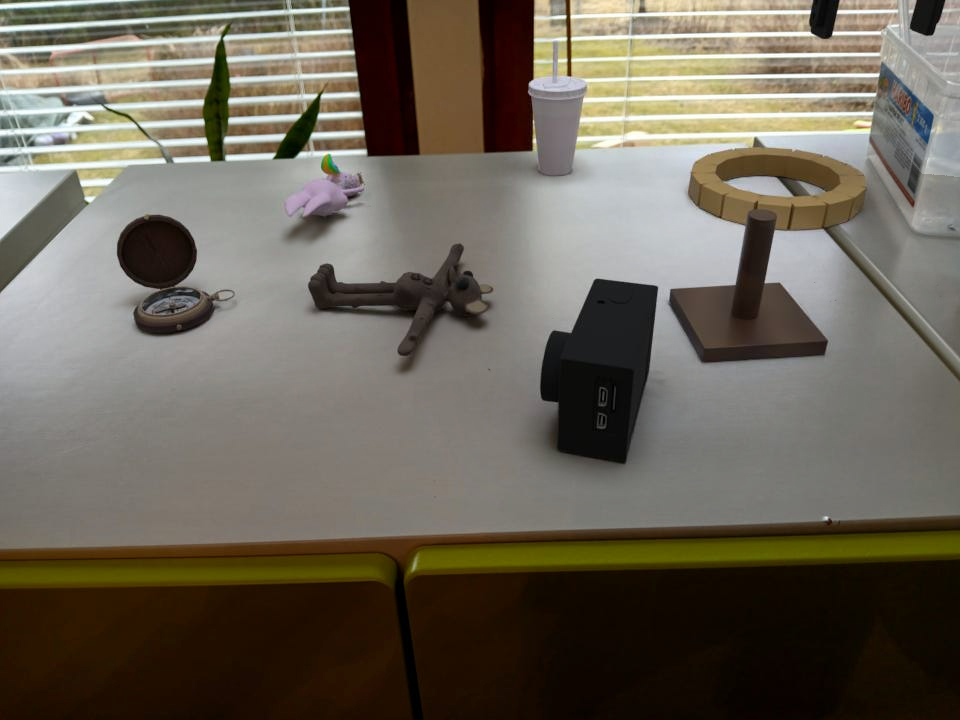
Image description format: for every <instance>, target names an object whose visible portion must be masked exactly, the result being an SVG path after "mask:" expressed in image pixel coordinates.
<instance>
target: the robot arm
mask: <svg viewBox="0 0 960 720" xmlns="http://www.w3.org/2000/svg"><path fill="white" fill-rule="evenodd" d="M840 1H841V0H812V4H811V8H810V14H809V19H808V26H809V27H810V34H811V35H813V36H816V37H818V38H819V39H821V40H829V39H831V38H832V37H833V33H834V29H835V24H836V20H837V15H838V11H839V6H840V3H841V2H840ZM945 4H946V0H915V4H914V8H913V12H912V14H911V15H912V16H911V20H910V22H909V29H910V30H911V31H912V32H915V33H917V34H920V35H922V36H926V37H933V36H934V34H935V32H936V29H937V25H938V24H939V22H940V21H941V18H942V14H943V11H944V8H945Z"/></svg>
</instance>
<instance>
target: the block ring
mask: <svg viewBox="0 0 960 720" xmlns="http://www.w3.org/2000/svg"><path fill="white" fill-rule="evenodd" d="M692 164H693V165H692V167H691V171H690V177H689V183H688V185H689V186H688V196H689V197H690V199H691V200H692V202H693V203H694V204H695V205H696V206H697V207H698V208H699V209H701V210H703V211H705V212H708V213H709V214H711V215H713V216H715V217H717V218H721V220H726V221H729V222H732V223H733V222H734V223H736V224H741V225H746V219H747V213H748V212H749V211H750V210H754V209H765V210H770V211H773V212H774V213H776V214H777V220H776V226H775V230H783V231H786V230H788V229H789V230H790V231H798V230H799V231H800V230H801V231H802V230H815V229H816V230H817V229H822V228H823V229H825V228H829V227H834V226H837V225H841V224H842V223H847V222H848V221H850V220H852V219H853V218H854V217H855V216H857V214H859V213H860V212H861V210H862V207H863V203H864V200H865V195H866V193H867V192H866V191H867V188H868V187H867V181H866V176H864V174H863V173H862V172H860V171H859V170H857V169H856V168H855V167H854V166H852V165H851V164H848V163H846V162H843V161H841V160H838V159H836V158H834V157H833V158H832V157H830V156H828V155H823V154H821V153H816V152H812V151H811V152H810V151H806V150H801V149H794V150H793V149H792V148H783V147H782V148H780V147H768V146H764V147H762V146H753V147H735V148H734V149H733V148H729V149H725V150H719V151H715V152H710V153H708V154H706V155H704V156H702V157H701V158H699V159H697V160H695V161H694V162H693V163H692ZM754 176H767V177H779V178H780V177H782V178H788V179H793V180H796V179H798V180H797V181H801V182H806V183H809V182H810V183H809V184H811V185H814V186H817V187H820V188H821V189H824V190H825V192H822V193H821V192H820V193H818V194H814V195H799V196H782V195H771V194H761V193H757V192H753V191H750V190H745V189H741V188H737V187H735V186H734V185H731V184H728V183H727V182H724V181H726V180H727V181H728V180H732V179H735V178H740V177H754Z"/></svg>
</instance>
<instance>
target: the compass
mask: <svg viewBox="0 0 960 720" xmlns="http://www.w3.org/2000/svg"><path fill="white" fill-rule="evenodd" d="M116 257H117V260H118V263H119V267H120V268H121V270H122V271H123V273H124V274H125V275H126V276H127V277H128V278H129V279H130V280H131V281H133V283H136V284H138V285H140V286H142V287H144V288H148V289H154V290H155V289H156V290H157V291H154V292H152V293H150V294H148V295H147V296H146V297H145V298H143V299H142V300H141V302H139V303H138V304H137V306H135V308H134V310H133V313H132V314H133V319H134V322H135V325H136V326H137V327H138V328H140V329H142V330H144V331H147V332H150V333H157V334H163V333H164V334H166V333H168V334H169V333H175V332H180V331H184V330H187V329H190V328H193V327H195V326H197V325H199V324H201V323H203V321H205V320H206V319H207V318H208V317H209V316H210V315H212V312H213V311H214V307H215V306H214V302H215V301H216V302H225V301H228V300H229V301H230V300H231V299H233V298H234V297H235V296H236V292H235V291H234V290H233V289H221V290H217V291H215V292H214V293H212V294H209V293H208V292H206V291H203V290H200V289H197V288H195V287H192V286H178V285H179V284H180V283H182V282H183V281H185V280H186V279H188V277H189V276H190V275H191V273H192V272H193V271H194V268H195V266H196V264H197V259H198V258H197V257H198V248H197V244H196V240H195V238H194V237H193V235H192V233H191V232H190V230H189V229H188V228H187V227H186V226H185V225H184V224H183V223H182V222H181V221H179V220H177V219H175V218H172V217H171V216H167V215H163V214H149V213H146V214H144V215H143V216H141V217H138V218H135V219H134V220H132V221H131V222H129V223H128V224H127V225H126V226H125V227H124V228H123V230H122V231H121V232H120V233H119V237H118V239H117V242H116ZM222 292H223V293H224V292H230V293H232V294H231V295H230V296H229V297H227V298H220V295H219V294H220V293H222Z"/></svg>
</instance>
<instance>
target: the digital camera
mask: <svg viewBox="0 0 960 720" xmlns="http://www.w3.org/2000/svg"><path fill="white" fill-rule="evenodd" d="M658 292H659V286H658V285H655V284H647V283H638V282H629V281H621V280H613V279H605V278H595V279H593V281H592V283H591V285H590V288H589V290H588V293H587V295H586V298H585V300H584V303H583V304H582V307H581V309H580V311H579V313H578V316H577V318H576V321H575V323H574V325H573V327H572V330H571V332H567V331H561V330H557V329H555V330H552V331H551V332H550V334H549V336H548V339H547V341H546V345H545V348H544V353H543V358H542V363H541V368H540V369H541V370H540V383H539V384H540V385H539V391H540V398H541V400H542V401H544V402H550V403H556V404H558V409H557V436H556V437H557V439H556V440H557V441H556V449H557V450H558V451H559V452H564V453H569V454H573V455H580V456H585V457H590V458H596V459H602V460H607V461H613V462H618V463H622V464H625V463H626V462H627V458H628V454H629V451H630V446H631V443H632V438H633V435H634V432H635V428H636V424H637V420H638V417H639V411H640V408H641V404H642V401H643V396H644V392H645V388H646V385H647V381H648V377H649V374H650V366H651V358H652V348H653V340H654V339H653V338H654V330H655V320H656V314H657V313H656V312H657V303H658V294H659V293H658Z"/></svg>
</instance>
